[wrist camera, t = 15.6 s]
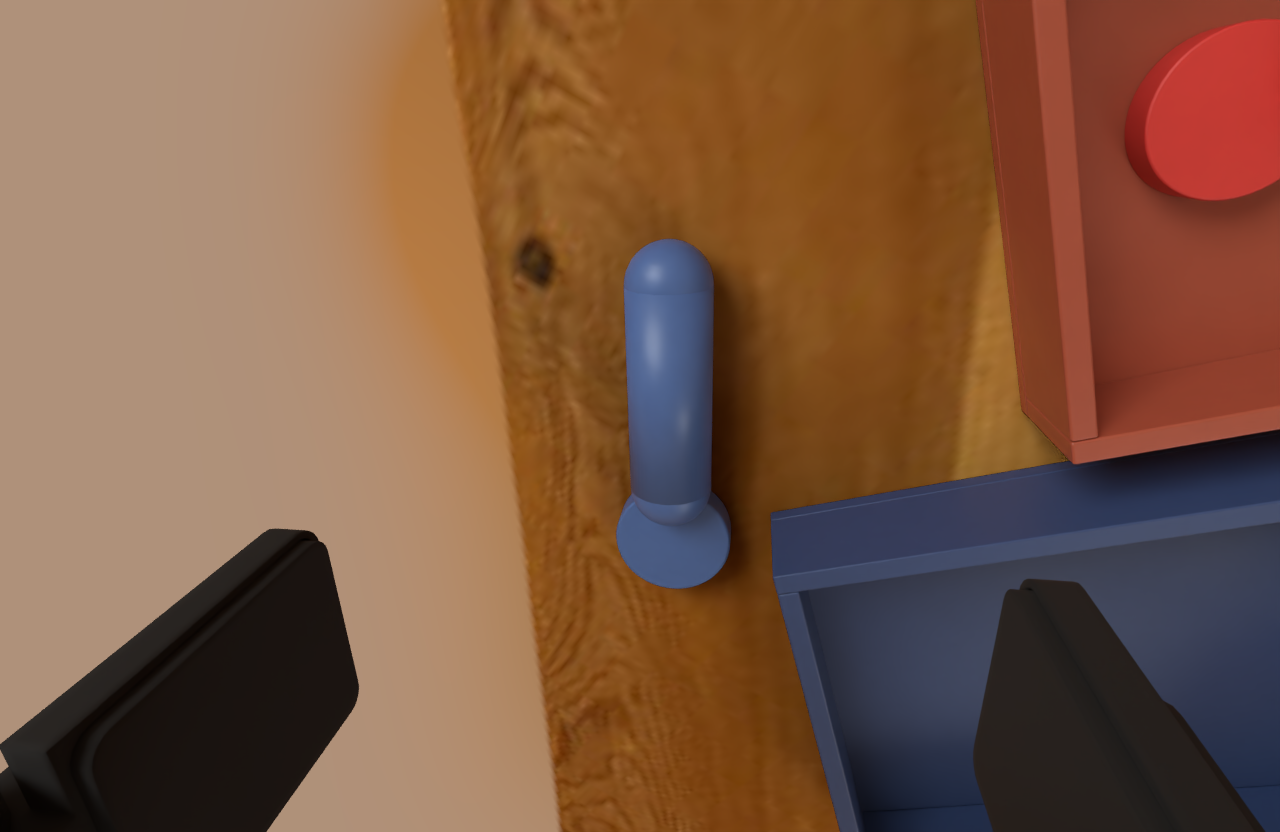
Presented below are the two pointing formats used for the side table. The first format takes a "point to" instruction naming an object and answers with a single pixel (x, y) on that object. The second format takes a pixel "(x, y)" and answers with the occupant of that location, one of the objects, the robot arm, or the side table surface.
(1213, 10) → the red bin
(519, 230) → the side table surface
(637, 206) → the side table surface
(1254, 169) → the red spoon
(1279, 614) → the blue bin
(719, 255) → the side table surface
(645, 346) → the blue spoon
